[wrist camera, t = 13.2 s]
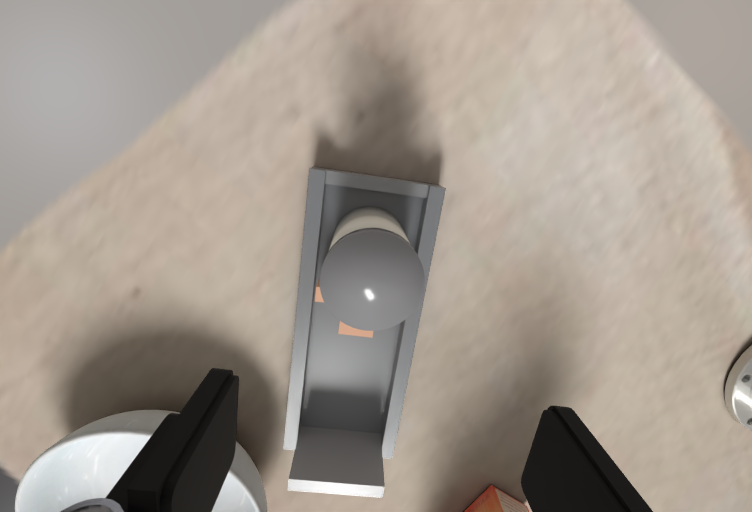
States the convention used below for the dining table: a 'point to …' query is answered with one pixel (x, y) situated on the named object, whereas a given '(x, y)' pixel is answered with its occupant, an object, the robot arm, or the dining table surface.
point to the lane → (351, 344)
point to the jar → (371, 271)
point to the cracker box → (496, 502)
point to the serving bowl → (119, 467)
